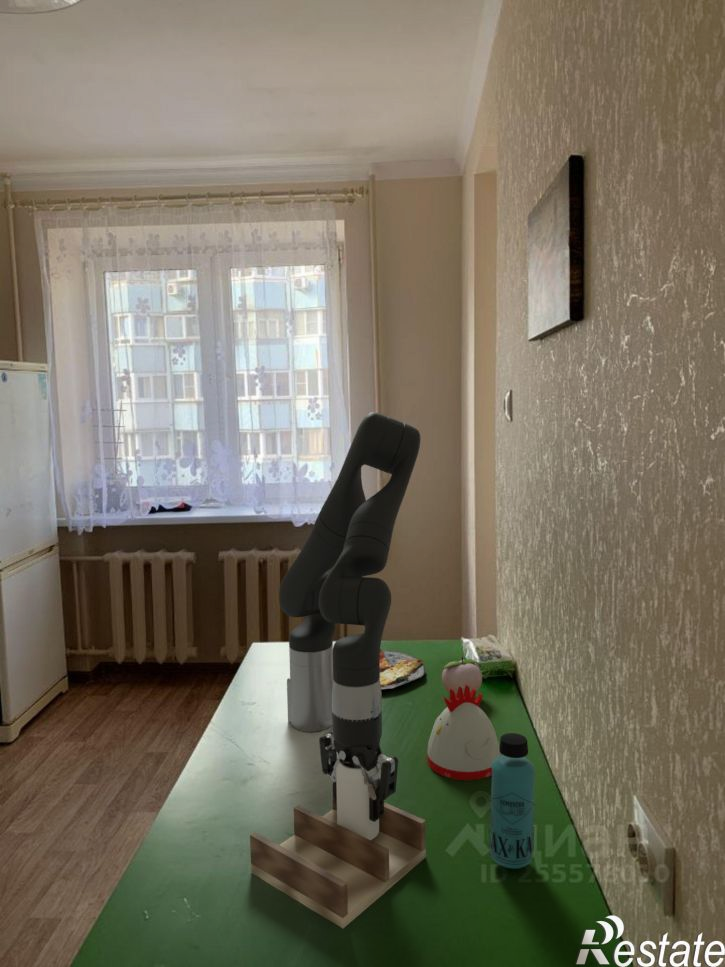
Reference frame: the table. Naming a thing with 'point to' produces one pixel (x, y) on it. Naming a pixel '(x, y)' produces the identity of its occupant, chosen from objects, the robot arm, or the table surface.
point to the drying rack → (339, 861)
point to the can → (354, 800)
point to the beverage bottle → (512, 804)
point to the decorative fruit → (462, 675)
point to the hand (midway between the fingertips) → (358, 810)
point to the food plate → (398, 669)
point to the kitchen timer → (463, 739)
